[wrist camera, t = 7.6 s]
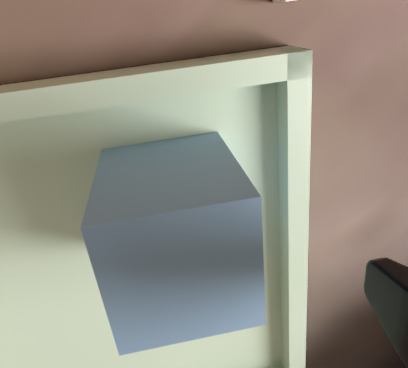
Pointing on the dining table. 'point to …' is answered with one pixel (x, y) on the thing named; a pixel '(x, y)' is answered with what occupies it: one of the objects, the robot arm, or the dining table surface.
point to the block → (175, 242)
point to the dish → (281, 0)
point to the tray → (135, 134)
